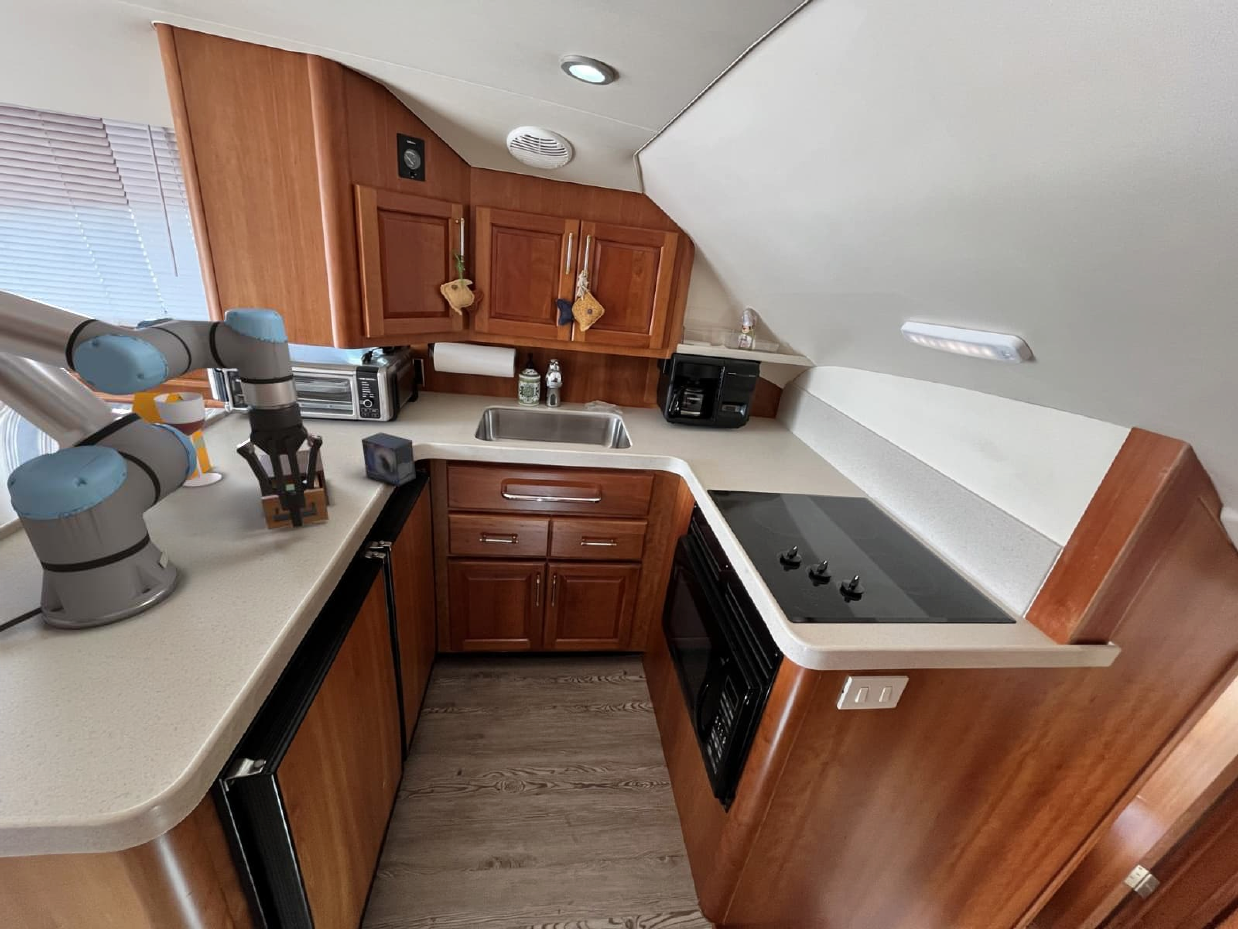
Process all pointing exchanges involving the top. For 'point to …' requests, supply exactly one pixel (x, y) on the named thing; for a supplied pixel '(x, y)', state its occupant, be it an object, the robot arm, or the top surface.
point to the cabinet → (303, 463)
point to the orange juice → (149, 413)
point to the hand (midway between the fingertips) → (297, 523)
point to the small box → (389, 458)
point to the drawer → (310, 513)
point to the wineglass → (186, 425)
